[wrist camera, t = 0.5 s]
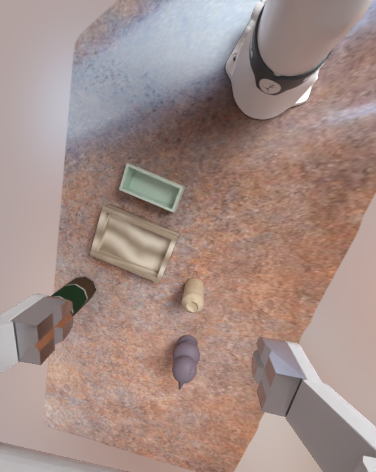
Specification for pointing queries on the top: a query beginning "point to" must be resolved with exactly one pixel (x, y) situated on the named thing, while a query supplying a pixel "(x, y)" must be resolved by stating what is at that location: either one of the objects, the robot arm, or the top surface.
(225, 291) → the top surface
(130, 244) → the box
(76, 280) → the beer bottle
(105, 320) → the top surface
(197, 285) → the candle
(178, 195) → the green crate
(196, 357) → the cat figurine
